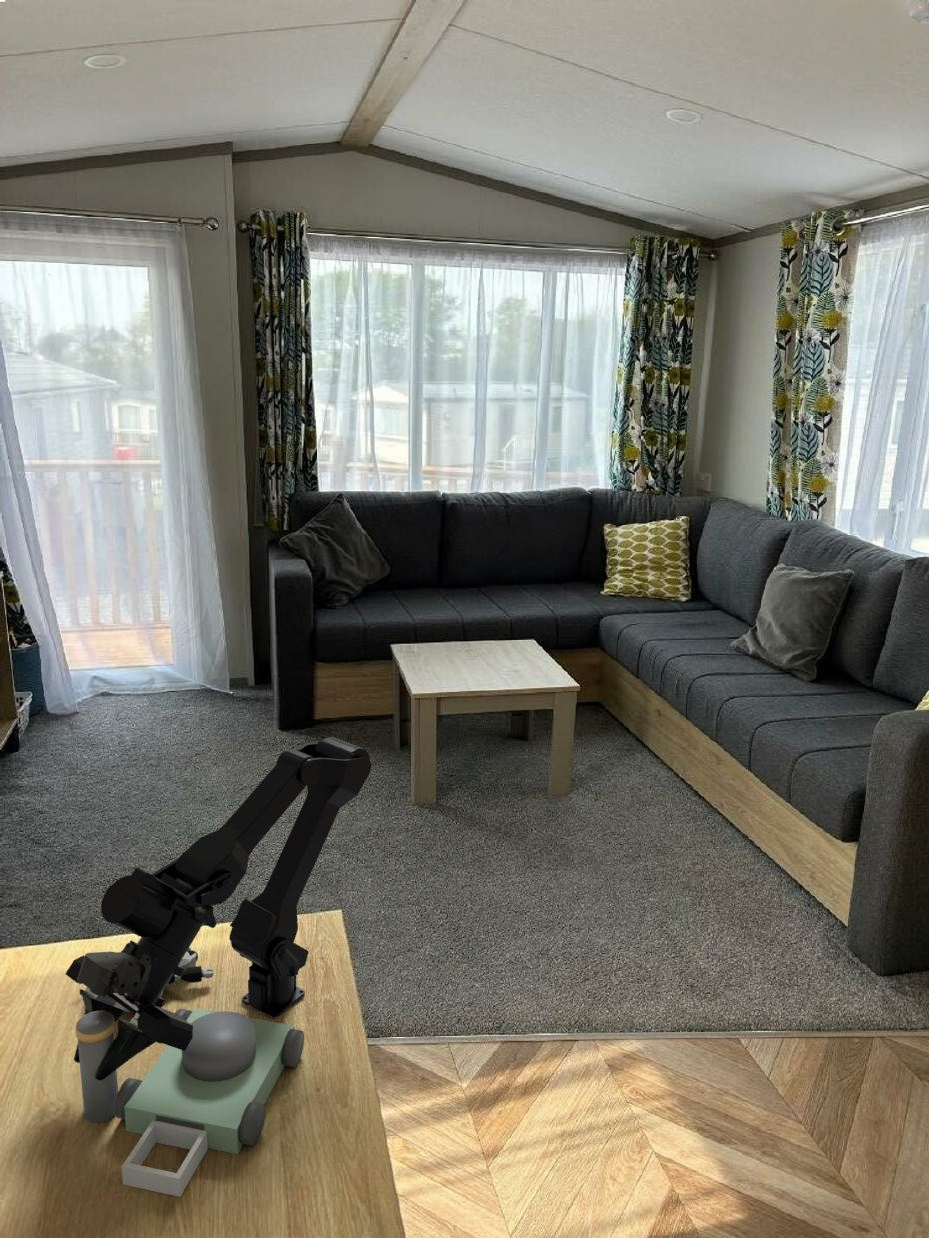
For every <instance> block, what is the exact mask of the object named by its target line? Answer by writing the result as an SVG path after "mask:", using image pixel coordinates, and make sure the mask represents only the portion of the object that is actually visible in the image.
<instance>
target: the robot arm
mask: <svg viewBox="0 0 929 1238" xmlns="http://www.w3.org/2000/svg"><path fill="white" fill-rule="evenodd" d="M372 765H373V763H372V762H371V759H370V754H369V752H368V751H367V750H366V749H364V748H362V747H360V746H357V745H355V744H352V743H350V742H348V741H344V740H342V739H339V738H337V737H333V736H329V737H326V738H324V739H323V740H319V741H318V742H310V743H309V742H308V743H303V744H302V745H300V746H299V747H298V748H291V749H286V750H284V751H282V752H281V753H280V755H279V756H278V758H277V760H276V764H275V765H274V766H273V768H272V769H271V770H270V771H269V772H268V774H267V775H266V776H265V777H264V778H263V780H262V781H261V782H260V783H259V784H258V785H257V786H256V787H255V789H254V790H253V791H252V792H251V793H250V794H249V795H248V797H247V798H246V799H245V800H244V801H243V802H242V804H241V805H240V806H239V807H238V808H237V809H236V810H235V812H233V814H232V815H231V816H230V817H229V819H228V820H227V821H226V822H225V823H224V824H223V825H222V826H221V827H219V828H218V829H217V830H215V831H212V832H209V833H207V834H206V835H203V836H201V837H199V838H198V839H197V840H195V842H194V843H192V845H191V846H190V847H188V848H186V850H185V851H184V852H183V853H182V854H181V855H180V856H179V857H178V858H176V859H175V860H173V861H171V862H170V863H168V864H166V865H165V866H163V867H161V868H160V869H158V870H157V871H155V872H153V873H149V872H148V871H146V870H144V869H143V868H140V867H139V866H137V867H135V869H134V870H133V871H132V873H131V875H125V876H122V877H120V878H119V879H117V880H116V881H114V883H113V884H112V885H109V886H108V887H107V889H106V891H105V893H104V894H103V897H102V900H101V905H100V910H101V911H100V913H101V915H102V917H103V919H104V921H106V922H107V923H109V924H111V925H114V926H116V927H118V928H121V930H124V931H127V932H129V933H131V934H134V935H136V936H138V937H140V938H139V940H138V941H136V942H135V940H130V941H129V942H127V943H126V944H125V946H124V948H123V949H122V950H121V951H120V952H119V951H118V952H117V951H116V952H115V951H99V952H98V951H97V952H95V951H94V952H86V953H85V954H84V955H81V956H80V957H77V958H75V959H74V960H73V961H72V962H71V964H70V965H69V967H68V969H67V971H66V972H64V973H65V975H66V976H67V977H68V978H69V979H71V980H72V981H74V982H75V983H77V984H79V985H81V984H83V986H85V987H86V988H85V989H82V988H81V989H79V995H80V996H81V997H82V1001H83V1005H84V1008H85V1009H84V1010H85V1011H84V1015H86V1014H88V1013H90V1012H94V1011H106V1012H109V1013H111V1014H112V1015H113V1016H114V1021H115V1023H116V1022H117V1034H116V1037H114V1039H115V1040H114V1041H113V1043H112V1045H111V1047H110V1048H109V1050H108V1052H107V1054H106V1055H105V1057H104V1059H103V1061H102V1062H101V1064H100V1066H99V1068H98V1071H97V1073H96V1075H95V1078H96V1079H97V1080H101V1081H102V1080H104V1079H105V1078H106V1077H107V1076H109V1075H110V1074H111V1073H113V1072H114V1071H115V1070H118V1069H119V1068H120V1067H122V1066H124V1064H126V1063H127V1062H128V1061H130V1060H131V1059H132V1058H134V1057H135V1056H136V1055H138V1054H139V1053H141V1052H142V1051H145V1050H146V1049H148V1048H149V1047H151V1046H152V1045H153V1044H155V1043H158V1044H161V1045H162V1044H164V1045H166V1046H168V1045H169V1046H172V1047H174V1048H177V1049H180V1050H183V1051H185V1050H186V1048H187V1046H188V1045H189V1043H190V1041H191V1040H192V1038H193V1025H191V1024H190V1023H188V1022H187V1021H186V1020H184V1019H183V1018H181V1017H180V1016H178V1015H177V1014H176V1013H175V1012H172V1011H171V1010H170V1011H169V1010H168V1009H165V1008H163V1006H164V1004H165V1002H166V1000H165V999H164V998H163V997H162V996H161V997H160V995H161V994H162V992H163V993H164V991H165V988H166V987H167V986H168V985H167V984H168V982H169V980H170V979H171V977H172V975H173V974H175V975H177V976H179V977H180V975H181V974H182V972H183V970H184V969H183V968H182V967H180V966H179V964H180V962H181V960H182V959H183V957H184V955H185V954H186V952H187V950H188V949H189V948H191V945H192V944H193V942H194V940H195V939H196V937H197V935H198V933H199V932H200V931H201V929H202V927H203V925H204V926H206V927H209V928H211V929H215V927H216V926H217V921H216V918H215V914H214V905H222V904H223V903H225V902H226V901H227V900H228V899H229V898H230V897H231V896H232V895H233V893H234V891H235V890H236V889H237V887H238V886H239V884H240V883H241V882H242V880H243V878H244V876H245V875H246V873H247V870H248V865H249V864H248V863H249V860H250V856H251V854H252V852H253V850H254V849H255V848H256V846H258V844H259V843H260V842H261V840H262V839H264V837H265V836H266V835H267V833H268V832H269V831H270V830H271V828H273V826H274V825H275V824H276V823H277V822H278V820H279V819H280V818H281V817H282V816H283V815H284V813H285V812H286V811H287V809H288V808H289V807H290V806H291V805H292V803H294V801H295V800H296V799H297V798H298V797H299V796H300V794H301V793H302V792H303V791H304V789H305V788H306V791H307V794H306V797H305V798H304V802H303V804H302V806H301V808H300V810H299V813H298V814H297V817H296V819H295V822H294V823H293V826H292V828H291V830H290V832H289V835H288V836H287V839H286V840H285V843H284V846H283V847H282V850H281V851H280V854H279V856H278V859H277V861H276V863H275V864H274V868H273V869H272V871H271V874H270V877H269V878H268V881H267V882H266V884H265V887H264V889H263V891H262V892H260V893H259V894H258V895H257V896H255V897H254V898H253V899H251V900H249V899H247V898H244V899H243V900H242V901H241V903H240V904H239V907H238V911H237V913H236V915H235V917H234V919H233V920H232V922H231V923H230V924H229V926H230V927H231V929H230V933H229V941H230V945H231V947H232V949H233V950H234V951H235V952H236V953H238V954H239V956H240V957H242V958H245V959H247V960H248V961H250V962H251V965H250V966H249V967H248V976H249V977H248V978H249V979H248V980H247V993H246V994H244V995H243V996H242V997H241V1002H242V1003H243V1004H245V1005H246V1006H249V1007H251V1008H253V1009H255V1010H257V1011H258V1012H260V1013H262V1014H265V1015H267V1016H268V1017H270V1018H273V1019H275V1018H276V1019H277V1018H278V1017H280V1015H282V1014H284V1013H285V1012H286V1011H287V1010H288V1009H290V1007H292V1006H293V1005H294V1004H295V1003H296V1002H298V1001H299V1000H300V999H302V998H303V997H304V996H306V995H305V993H306V991H305V990H304V989H303V988H301V987H299V986H297V976H298V975H299V971H300V970H301V969H302V968H303V967H305V966H306V964H307V960H308V956H309V950H307V949H306V948H304V947H302V946H300V944H297V943H295V940H296V936H297V933H298V932H299V931H298V930H299V921H298V908H297V906H298V903H299V901H300V898H302V897H301V896H302V894H303V892H304V890H305V887H306V885H307V883H308V881H309V878H310V876H311V873H312V872H313V870H314V867H315V865H316V862H317V860H318V858H319V855H320V854H321V852H322V849H323V847H324V844H325V843H326V840H327V838H328V836H329V834H330V831H331V830H332V827H333V824H334V822H335V819H336V818H337V815H338V813H339V812H340V809H341V808H342V807H344V806H345V805H346V804H348V803H349V802H350V801H352V800H353V799H355V797H356V796H358V795H359V793H360V791H361V790H362V788H363V786H364V785H365V782H366V781H367V780H368V777H369V776H370V773H371V770H372ZM162 995H163V994H162ZM117 1002H118V1003H119V1004H120V1005H122V1006H123V1007H124V1008H126V1009H127V1010H129V1011H130V1012H129V1013H131V1014H132V1015H134V1016H133V1017H131V1019H130V1021H127V1020H124V1019H121V1018H120V1017H121V1016H122V1014H123V1013H124V1012H126V1011H125V1010H124V1009H122V1008H121V1007H119V1006H118V1005H117V1004H116V1003H117ZM73 1061H74V1062H75V1063H78V1064H80V1060H79V1048H78V1044H77V1045H76V1050H75V1053H74V1056H73Z"/></svg>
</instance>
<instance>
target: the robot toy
mask: <svg viewBox="0 0 929 1238" xmlns="http://www.w3.org/2000/svg"><path fill="white" fill-rule="evenodd" d="M191 949H192V948H191V947H189V949H188V950H187V952H186V954H185V955H184V957H183V959H182V960H181V962H180V964H179V966H180V967H182V968H183V969H184V970H183V972H182V974H181V975H180V977H179V976H177V975H175V974H173V975H172V977H171V979H170V980H169V982H168V984H167V985H166V986H168V985H172V984H179V983H182V982H184V983H185V982H186V983H188V984H193V983H200V982H201V983H202V980H203V979H204V978H205V979H211V978H213V976H215V975H214V973H215V972H214V970H213V968H212V967H206V968H204V969H203V968H202V966H201V965H199V966H198V965H197V962H198V959H199V954H198V953H197V952H196V951H195V950H191ZM163 993H164V991H163V992H162V994H161V995H160V997H161V998H162V996H163ZM116 1004H117V1005H118V1006H119V1007H121V1008H122V1009H124V1010H125V1011H124V1012H128V1013H131V1012H130V1011H129V1010H127V1009H126V1008H124V1007H123V1006H122V1005H120V1004H119V1003H118V1002H117V1003H116Z"/></svg>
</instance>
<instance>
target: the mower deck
mask: <svg viewBox="0 0 929 1238" xmlns="http://www.w3.org/2000/svg"><path fill="white" fill-rule="evenodd" d="M174 1013H176V1014H177V1015H178V1016H180V1017H181V1018H183V1019H184V1020H186V1021H187V1022H188V1023H190V1024H191V1025H193V1038H192V1040H191V1041H190V1043H189V1045H188V1046H187V1048H186V1050H185V1051H183V1050H180V1049H177V1048H174V1047H172V1046H169V1045H166V1048H165V1050H164V1051H163V1052H162V1053H161V1055H160V1056H159V1058H158V1059H157V1060H156V1062H155V1063H154V1065H153V1066H152V1067H151V1069H150V1070H149V1072H148V1073H147V1075H145V1077H144V1079H143V1080H142V1079H137V1078H133V1077H128V1078H126V1079H125V1081H124V1082H123V1083H122V1084H121V1086H120V1087H119V1089H118V1094H117V1098H116V1102H115V1115H114V1116H115V1117H116V1118H117V1119H121V1120H124V1121H125V1131H126V1132H129V1133H132V1134H133V1133H134V1134H139V1135H142V1136H141V1137H140V1138H139V1140H138V1141H137V1143H136V1144H135V1145H134V1148H133V1149H132V1150H131V1152H130V1154H129V1155H128V1156H127V1157H126V1160H125V1161H124V1162H123V1164H122V1165H121V1173H122V1174H121V1175H122V1185H124V1186H128V1187H132V1188H133V1187H134V1188H138V1189H141V1190H146V1191H151V1192H156V1193H160V1194H164V1195H170V1196H175V1197H179V1198H181V1196H182V1194H183V1192H184V1191H185V1189H186V1187H187V1186H188V1184H189V1182H190V1181H191V1179H192V1177H193V1175H194V1174H195V1172H196V1170H197V1169H198V1167H199V1165H200V1163H201V1162H202V1160H203V1158H204V1157H205V1154H206V1153H207V1151H208V1149H211V1150H215V1151H221V1152H226V1153H230V1154H236V1155H238V1154H239V1152H240V1150H241V1149H242V1146H243V1145H248V1146H252V1147H253V1146H255V1145H256V1144H257V1143H258V1141H259V1139H260V1138H261V1135H262V1132H263V1128H264V1124H265V1119H266V1107H265V1103H266V1101H267V1100H268V1098H269V1097H270V1094H271V1092H272V1090H273V1089H274V1087H275V1085H276V1083H277V1081H278V1079H279V1078H280V1076H281V1074H282V1071H283V1070H284V1068H285V1067H290V1068H296V1067H297V1066H298V1064H299V1063H300V1060H301V1058H302V1055H303V1051H304V1045H305V1032H304V1031H303V1030H299V1029H296V1028H295V1025H292V1024H286V1023H281V1022H276V1021H270V1020H265V1019H259V1018H253V1017H248V1016H246V1015H244V1014H242V1013H239V1012H235V1011H215V1010H211V1009H210V1010H209V1009H204V1008H198V1007H195V1008H193V1009H192V1010H190V1009H184V1008H179V1009H177V1010H176V1011H175V1012H174ZM157 1143H158V1144H162V1145H167V1146H172V1147H176V1148H181V1149H184V1150H185V1149H186V1150H189V1152H188V1153H187V1155H186V1156H185V1158H184V1160H183V1162H182V1163H181V1165H180V1167H179V1169H178V1170H177V1172H172V1171H167V1170H163V1169H159V1168H154V1167H150V1166H149V1167H148V1166H145V1165H143V1163H144V1162H145V1161H146V1159H147V1157H148V1155H150V1153H151V1151H152V1149H153V1148H154V1146H155V1145H156V1144H157Z"/></svg>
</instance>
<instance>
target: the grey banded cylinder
mask: <svg viewBox="0 0 929 1238" xmlns="http://www.w3.org/2000/svg"><path fill="white" fill-rule="evenodd" d="M74 1027H75V1029H74V1030H75V1037H76V1038H77V1045H78V1048H79V1060H80V1063H79V1068H80V1070H79V1071H80V1084H81V1091H82V1104H83V1114H84V1115H83V1116H84V1118H85V1119H86V1120H87V1121H89V1122H92V1123H102V1122H105V1121H106V1122H107V1121H108V1120H111V1118H114V1116H115V1102H116V1098H117V1094H118V1092H119V1084H118V1083H119V1081H118V1071H117V1070H118V1069H117V1070H115V1071H114V1072H113V1073H111V1074H110V1075H109V1076H107V1077H106V1078H105V1079H104V1080H102V1081H101V1080H97V1079H96V1078H95V1075H96V1073H97V1071H98V1068H99V1066H100V1064H101V1062H102V1061H103V1059H104V1057H105V1055H106V1054H107V1052H108V1050H109V1048H110V1047H111V1045H112V1043H113V1041H114V1040H115V1028H116V1022H115V1021H114V1016H113V1015H112V1014H111V1013H109V1012H106V1011H94V1012H90V1013H88V1014H86V1015H85V1014H84V1015H82V1016H81V1017H80V1018H78V1020H77V1021H76V1022H75V1026H74Z"/></svg>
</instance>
